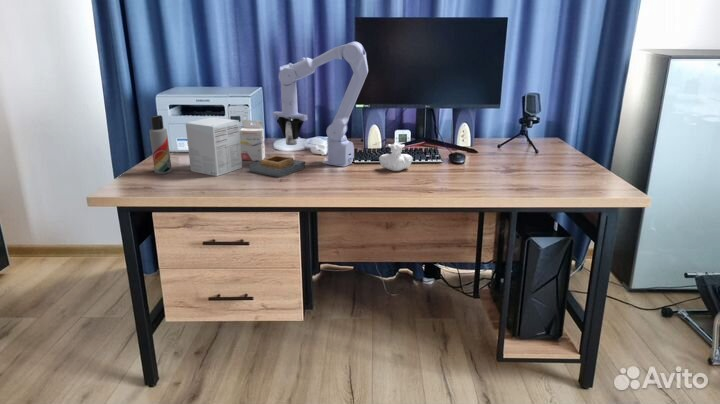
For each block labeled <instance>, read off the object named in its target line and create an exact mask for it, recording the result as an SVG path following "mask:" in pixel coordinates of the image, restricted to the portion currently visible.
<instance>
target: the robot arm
mask: <svg viewBox="0 0 720 404" xmlns="http://www.w3.org/2000/svg"><path fill="white" fill-rule="evenodd" d="M333 60H345V61H346V62H347V63H348V64H349V65H350V68H351V70H352V72H353V74H352V76H351V78H350V80H349V83H348V86H347V88H346V90H345V93H344V95H343V97H342V100H341V102H340V104H339V107H338V110H337V113H336V114H335V117H334V118H333V120H332V123H330V124H329V125H328V126H327V127H326V130H325V131H326V135H327V143H326V144H327V160H326V161H323V162H322V164H324V165H331V166H335V167H336V166H337V167H342V168H345V167H347V166H350V165H351V164H353V163H352V161H353V158H354V159H355V146H354V143H353V142H352V141H349V140H348V138H347V135H346V133H347V132H348V123H349V120H350V116H351V114H352V111H353V109H354V106H355V105H356V103H357V99H358V97H359V95H360V93H361V90H362V88H363V86H364V83H365V80H366V78H367V76H368V73H369V65H368V60H367V52H366V50H365V48H364V46H363V45H362V43H360V42H358V41H351V42H348V43H347V44H343V45H339V46H336V47H332V48H331V49H329V50H328V51H325V52H323V53H322V54H320V55H318V56H316V57H314V58H310V57H302V58H300V60H299V61H297V62H296V63H293V64H292V63H290V64H289V66H288V67H284V68H283V69H281V70H280V71H279V72H278V81H279V82H280V89H281V90H280V94H281V95H280V98H281V111H273V112H272V116H273V118H278V119H276V122H277V124H278V125H279V128H280V131H281V133H282V136H283V138H284V139H286V135H285V122H286V121H289V117H291V119H292V121H290V123H291V125H292V130H293V139H297V140H298V139H299V136H300V132H301V129H302V126H303V124H304V122H305V121H306V122H307V121H308V114H305V113H300V112H299V111H298V110H299V109H298V107H299V106H298V92H297V91H298V88H297V81H298V80H299V81H300V80H301V79H305V78H306V77H308V76H310V75H312V74H314V73H315V72H316V70H317V67H320V66H322V65H324V64H327V63H329V62H331V61H333Z"/></svg>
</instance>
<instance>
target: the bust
mask: <svg viewBox="0 0 720 404" xmlns="http://www.w3.org/2000/svg"><path fill="white" fill-rule="evenodd" d="M387 146H388V148H390V153H385V154H381V155H380V156H379V157H378V161H379V163H380V165H381V167H382V168H383V169H387V170H390V171H393V172H400V171H402V170H405V169H409V168H410V166H411V164H412V162H413V159H414V158H413V156H412V155H410V154H408V153H402V152H403V148H404V149H405V146H406V145H405V144H401V143H400V142H393V143H392V144H390V143H389V144H387Z"/></svg>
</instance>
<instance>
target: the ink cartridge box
mask: <svg viewBox="0 0 720 404" xmlns="http://www.w3.org/2000/svg"><path fill="white" fill-rule="evenodd" d="M241 123H242V128H241V129H240V128H239V132H240V145H241V158H242V161H254V162H255V161H256V160H259V161H261V160H263V159H266V151H265V150H266V147H265V133H264V122H263V120H257V119H255V120H254V119H252V120H251V119H249V120H248V119H243V120H241ZM252 123H253V124H252Z"/></svg>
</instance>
